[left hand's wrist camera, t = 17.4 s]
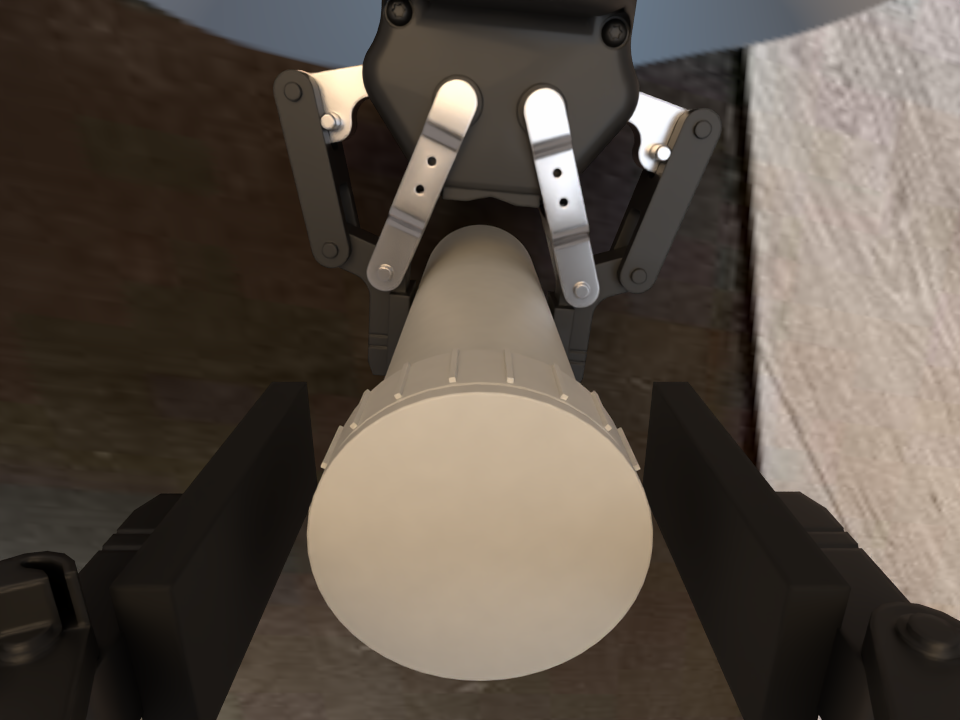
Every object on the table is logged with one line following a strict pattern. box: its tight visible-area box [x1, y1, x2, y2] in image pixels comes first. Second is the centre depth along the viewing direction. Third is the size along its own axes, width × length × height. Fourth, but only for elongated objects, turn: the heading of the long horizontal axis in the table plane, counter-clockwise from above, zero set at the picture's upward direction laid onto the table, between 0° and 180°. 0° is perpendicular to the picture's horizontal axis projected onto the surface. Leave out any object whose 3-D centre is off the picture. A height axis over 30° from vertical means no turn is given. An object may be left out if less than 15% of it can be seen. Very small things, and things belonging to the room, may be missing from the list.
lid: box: [307, 348, 653, 681], centre depth 11 cm, size 6×6×2 cm
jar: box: [384, 225, 575, 380], centre depth 20 cm, size 5×5×18 cm
